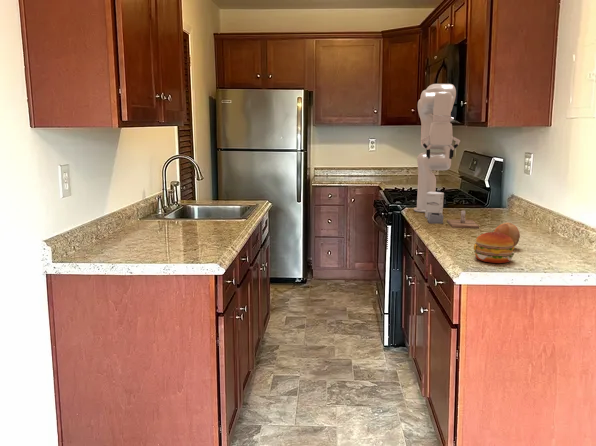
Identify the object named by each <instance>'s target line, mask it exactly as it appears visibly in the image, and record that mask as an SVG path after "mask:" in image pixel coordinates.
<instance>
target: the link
mask: <svg viewBox="0 0 596 446" xmlns="http://www.w3.org/2000/svg"><path fill="white" fill-rule="evenodd" d="M426 219H427V223H428V224H434V225H435V224H436V225H441V224H442V225H443V224H444V215H443V212H442V213H431V212H428V218H426Z"/></svg>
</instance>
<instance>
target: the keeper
mask: <svg viewBox="0 0 596 446" xmlns="http://www.w3.org/2000/svg"><path fill="white" fill-rule="evenodd" d="M446 222H447V223H448V224H449V226H450V227H451V228H453V229H454V228H455V229H457V228H460V229H480V226H479V225H478V223H476V222H475V221H474V220H473V219H466V210H461V211H460V219H451V218H450V219H446Z"/></svg>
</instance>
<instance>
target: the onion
mask: <svg viewBox="0 0 596 446" xmlns="http://www.w3.org/2000/svg"><path fill="white" fill-rule="evenodd" d="M493 232H499V233H503V234H505V235H507V236H509V237H510V238H511V239H512V240H513V242H514V245H513V246H514V248H515V247H516V246H517V245H518V243H519V242H520V239H521V238H520V237H521V234H520V230H519V229H518V227H517V226H516V225H515V224H514V223H511V222H503V223H501V224H499V225H498V226H497V227H496V228H495V229H494V231H493Z"/></svg>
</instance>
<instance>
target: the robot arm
mask: <svg viewBox="0 0 596 446" xmlns="http://www.w3.org/2000/svg"><path fill="white" fill-rule="evenodd" d="M456 96H457V90H456V87H455V85H454V84H452V83H432V84H430V85H429V86H427V88H426V89H424V90H422V92H421V94H420V99H419V100H418V101H417V112H418V117H419V118H420V124H421V126H420V127H421V132H420V146H421V148H422V149H424V150H426V151H424V152H421V153H419V154H418V155H417V157H416V162H417V171H418V172H417V174H418V175H417V176H418V177H417V196H416V207H414V208H413V211H414V212H418V213H425V209H426V194H427V193H428V192H437V191H436V190H437V177H436V175H435V174H434V173H433V172H432V171H447V170H450V168H451V166H452V159H453V157H454V151H455V149H457V147H458V146H459V145H460V143H461V139H459V138H457V137H455V136H453V124H452V123H451V122H454V120H455V118H454V117H452V115H451V114H452V113H451V112H452V111H453V108H454V104H455V101H456V98H457V97H456ZM453 141H454V142H455V144H454V145H453ZM431 150H439V151H431ZM440 151H441V152H440Z"/></svg>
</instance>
